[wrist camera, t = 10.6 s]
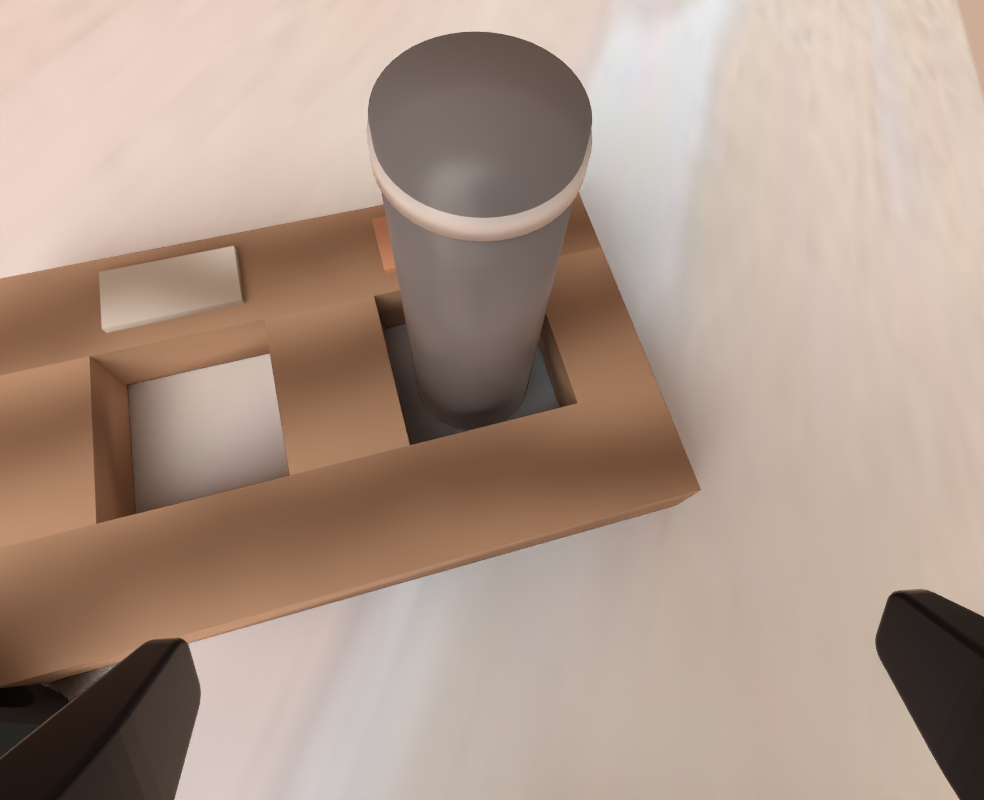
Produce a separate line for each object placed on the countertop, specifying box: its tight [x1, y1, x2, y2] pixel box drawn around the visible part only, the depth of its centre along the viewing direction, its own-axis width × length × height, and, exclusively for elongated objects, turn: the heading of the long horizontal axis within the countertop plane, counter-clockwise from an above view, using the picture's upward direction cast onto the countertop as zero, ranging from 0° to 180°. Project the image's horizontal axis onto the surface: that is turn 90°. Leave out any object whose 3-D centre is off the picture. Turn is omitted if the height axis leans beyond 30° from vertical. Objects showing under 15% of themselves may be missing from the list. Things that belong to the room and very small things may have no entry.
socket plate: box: [0, 192, 701, 688], centre depth 22 cm, size 14×22×3 cm, turn 106°
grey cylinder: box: [367, 32, 592, 430], centre depth 18 cm, size 5×5×13 cm
